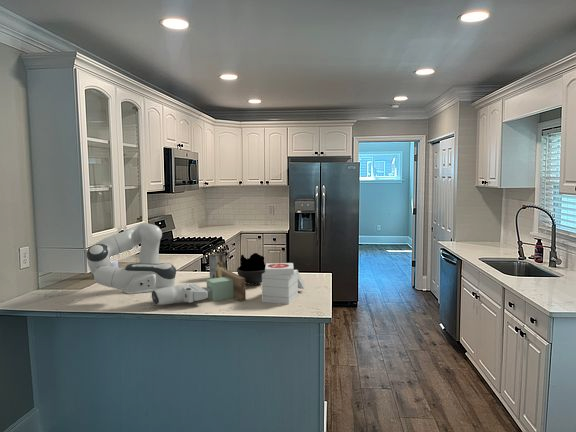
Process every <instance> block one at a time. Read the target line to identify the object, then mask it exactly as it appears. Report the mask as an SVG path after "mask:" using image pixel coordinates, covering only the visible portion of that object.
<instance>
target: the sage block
mask: <svg viewBox="0 0 576 432" xmlns="http://www.w3.org/2000/svg"><path fill="white" fill-rule="evenodd" d="M206 287H209V288H210V289H211V291H210V292H207V293H208V297H207V299H209V300H210V301H212V302H217V301H222V300H226V299H228V300H229V299H234V286H233V279H231V278H229V277H221V278H214V279H210V278H207V279H206Z"/></svg>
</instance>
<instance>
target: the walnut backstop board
mask: <svg viewBox="0 0 576 432" xmlns="http://www.w3.org/2000/svg"><path fill="white" fill-rule="evenodd" d="M221 273H222V277H229V278H231V279H233V286H234V298H235V300H237V301H239V302H244V301H247V298H246V295H247V294H246V283H245V278H243V277H241V276H239V275H238V273H237V274H236V273H235V272H233V271H230V270H228V269H226V270H221ZM234 298H233V299H234Z"/></svg>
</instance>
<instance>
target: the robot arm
mask: <svg viewBox="0 0 576 432" xmlns="http://www.w3.org/2000/svg"><path fill="white" fill-rule="evenodd" d="M162 237H163V231H162V229H161V228H160V227H159V226H158V225H156V224H152V223H148V222H142V223H139V224H136V225H135V226H132V227H130V228H127V229H126V230H124V231H121V232H118V233H115V234H112V235H110V236H108V237H107V236H106V237H104V238H103V239H101V240H99V241H98V242H96V243H95V244H93V245H91V246H89V247H88V248H87V250H86V253H85V254H86V256H85V257H86V259H87V260H86V261H87V265H88V266H87V267H88V268H89V271H90V274H91V276H92V278H93V280H94V282H95V283H96V284H98V285H101V286H104V287H108V288H111V289H118V290H122V292H123V293H124V294H127V295H130V294H131V295H132V294H133V295H134V294H140V293H141V294H142V293H151V298H152V302H153V303H154V304H155V305H158V306H160V305H161V306H165V305H171V304H175V303H190V304H191V303H194V302H195V301H201V300H202V301H203V300H205V299H208V293H207V292H210V291H211V289H210V288H209V287H207V286H204V287H202V286H200V285H198V284H197V283H190V284H188V283H186V284H185V283H183V284H180V285H176V286H175V280H176V274H177V268H176V266H174V265H173V264H172V263H169V262H162V263H161V262H160V256H159V255H160V253H159V251H160V244H161V239H162ZM138 245H140V250H139V251H138V256H139V257H138V258H139V261H138V262H139V263H129V264H127V265H126V266H123V267H119V266H118V267H113V266H111V262H110V257H111V256H113V257H114V256H116V255H120V254H122V253H124V252H126V251H127V252H128V251H130V250H133V249H134V248H135V247H137V246H138Z"/></svg>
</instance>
